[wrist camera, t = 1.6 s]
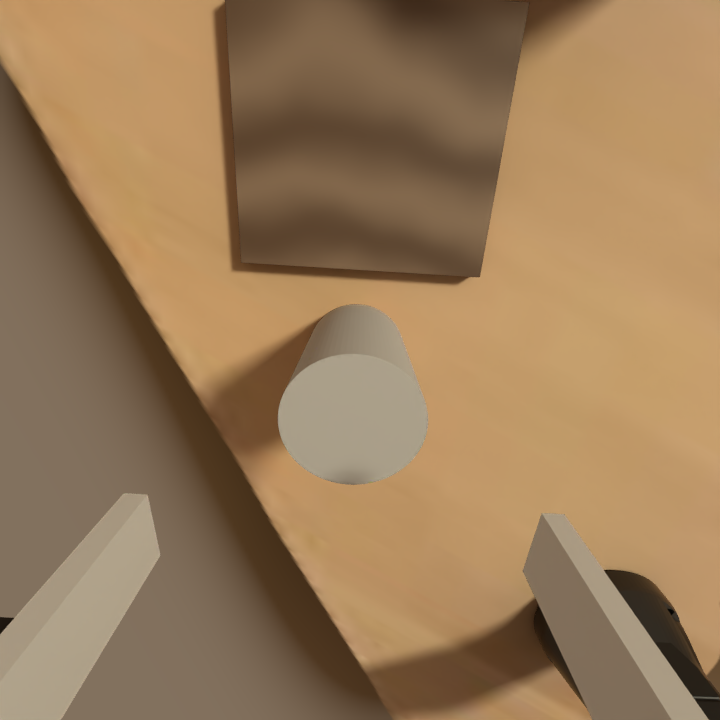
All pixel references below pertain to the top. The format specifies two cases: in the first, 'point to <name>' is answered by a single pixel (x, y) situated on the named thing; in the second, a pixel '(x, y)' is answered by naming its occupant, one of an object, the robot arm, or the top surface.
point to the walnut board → (370, 129)
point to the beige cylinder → (353, 400)
